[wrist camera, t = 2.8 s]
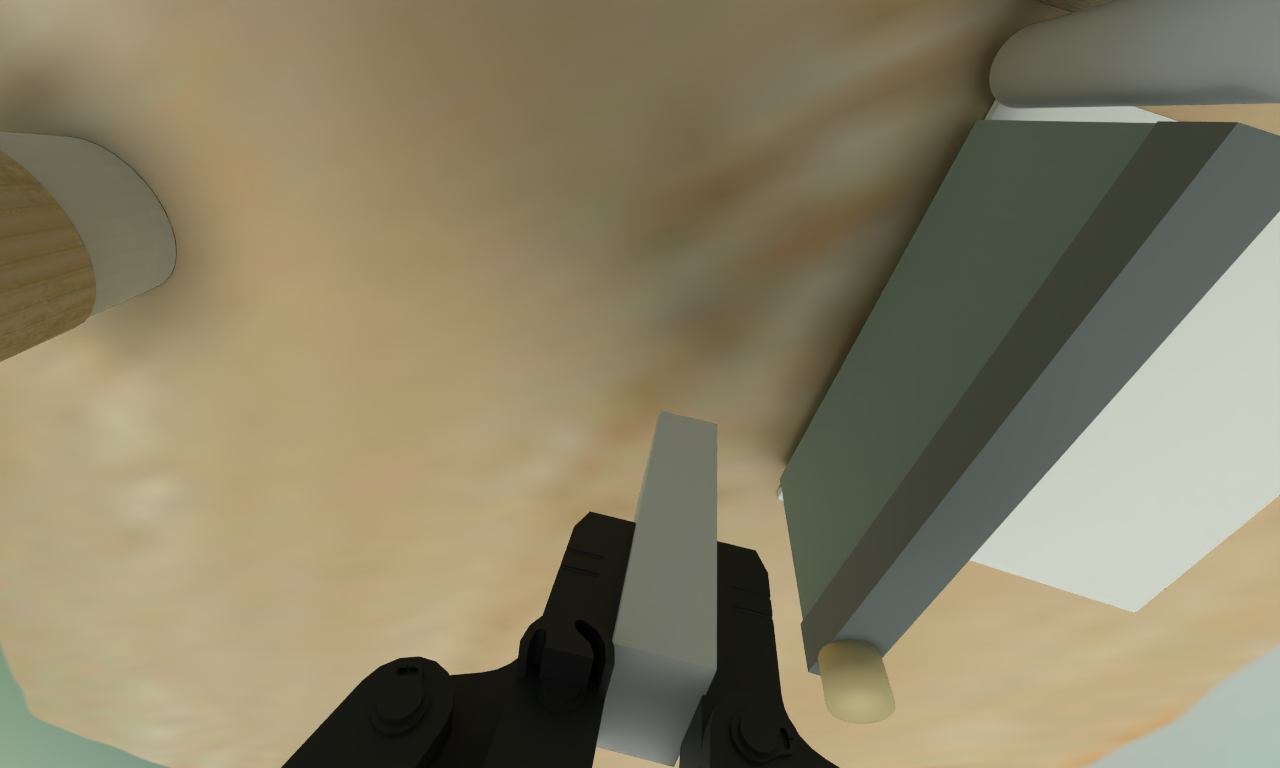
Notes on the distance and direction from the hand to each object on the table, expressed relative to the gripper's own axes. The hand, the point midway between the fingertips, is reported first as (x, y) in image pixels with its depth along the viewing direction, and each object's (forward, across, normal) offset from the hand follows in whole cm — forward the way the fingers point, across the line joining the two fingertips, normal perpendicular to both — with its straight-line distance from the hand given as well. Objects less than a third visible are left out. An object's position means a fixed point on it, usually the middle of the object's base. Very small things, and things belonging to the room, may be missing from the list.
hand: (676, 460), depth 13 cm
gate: (+7, +6, +4) cm, 10 cm away
